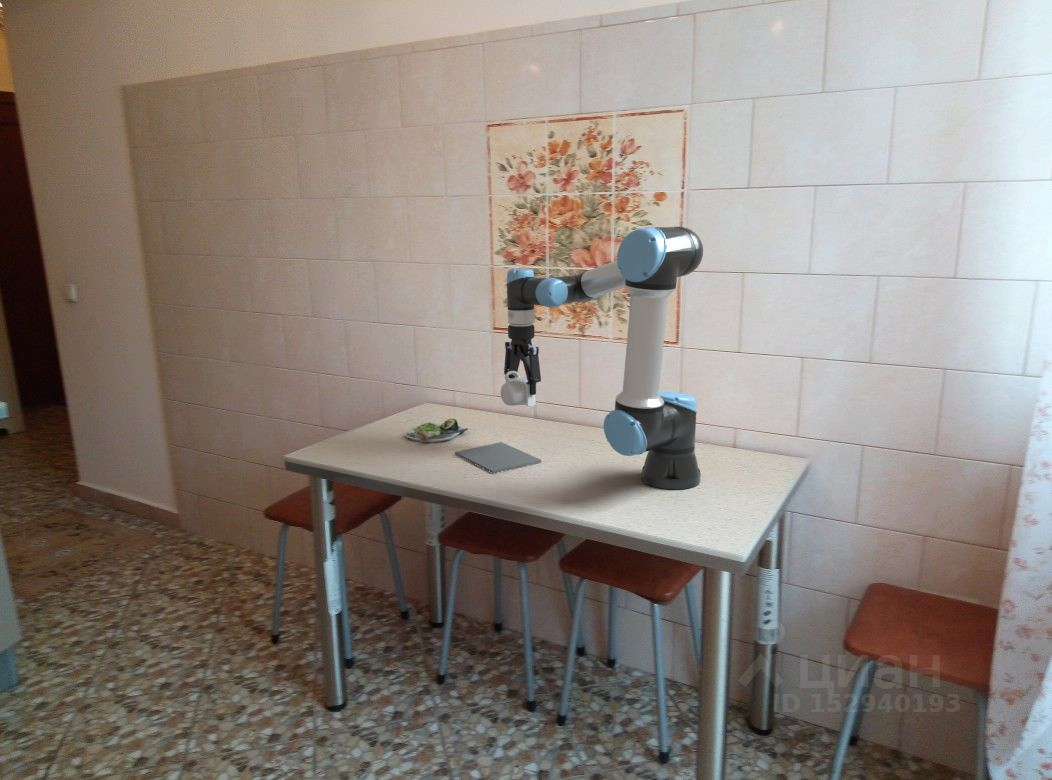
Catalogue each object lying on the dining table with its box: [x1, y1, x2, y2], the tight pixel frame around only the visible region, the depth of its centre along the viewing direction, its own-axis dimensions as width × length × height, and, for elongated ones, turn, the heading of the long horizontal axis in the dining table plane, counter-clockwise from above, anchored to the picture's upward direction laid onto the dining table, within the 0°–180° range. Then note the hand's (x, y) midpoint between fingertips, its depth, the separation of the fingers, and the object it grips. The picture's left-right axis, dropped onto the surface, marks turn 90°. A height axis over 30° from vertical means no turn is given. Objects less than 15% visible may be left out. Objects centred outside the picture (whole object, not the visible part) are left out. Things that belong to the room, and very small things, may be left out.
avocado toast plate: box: [404, 418, 469, 444], centre depth 232 cm, size 19×18×5 cm
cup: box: [500, 371, 528, 407], centre depth 210 cm, size 11×8×8 cm
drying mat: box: [454, 441, 542, 474], centre depth 210 cm, size 21×16×1 cm
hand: (522, 402), depth 212 cm, fingers closed on cup, 8 cm apart
